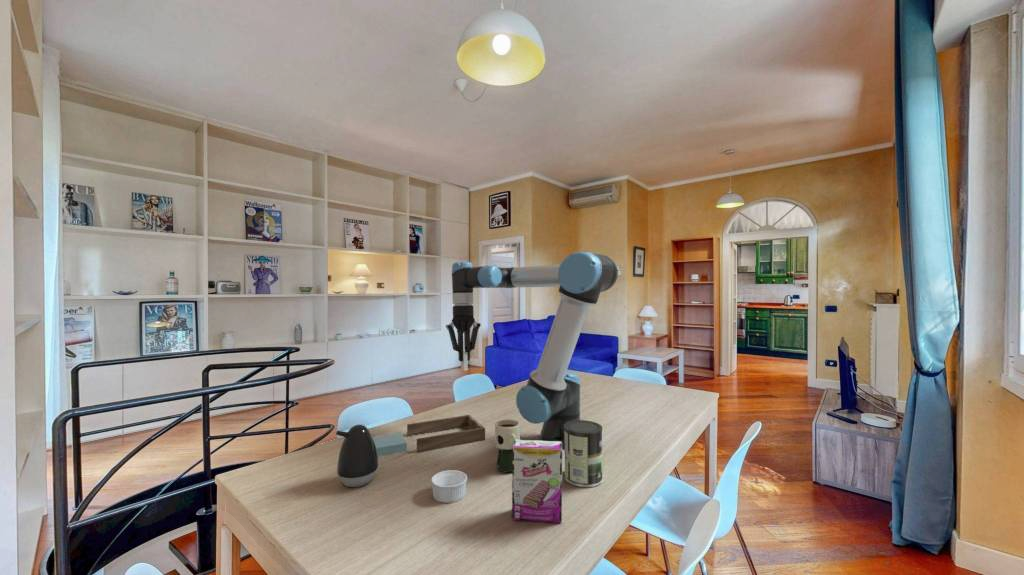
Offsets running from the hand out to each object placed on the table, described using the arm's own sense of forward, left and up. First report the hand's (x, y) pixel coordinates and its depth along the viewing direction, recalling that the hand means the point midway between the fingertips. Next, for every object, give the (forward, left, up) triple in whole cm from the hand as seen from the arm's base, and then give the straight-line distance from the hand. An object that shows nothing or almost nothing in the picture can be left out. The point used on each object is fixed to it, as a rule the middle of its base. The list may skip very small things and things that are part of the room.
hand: (464, 369), depth 141 cm
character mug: (-34, -1, -22) cm, 41 cm away
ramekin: (-40, +18, -23) cm, 49 cm away
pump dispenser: (-23, +38, -22) cm, 50 cm away
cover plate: (-3, +28, -23) cm, 36 cm away
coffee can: (-48, -17, -22) cm, 56 cm away
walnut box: (-3, +8, -22) cm, 24 cm away
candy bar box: (-58, +3, -22) cm, 62 cm away
